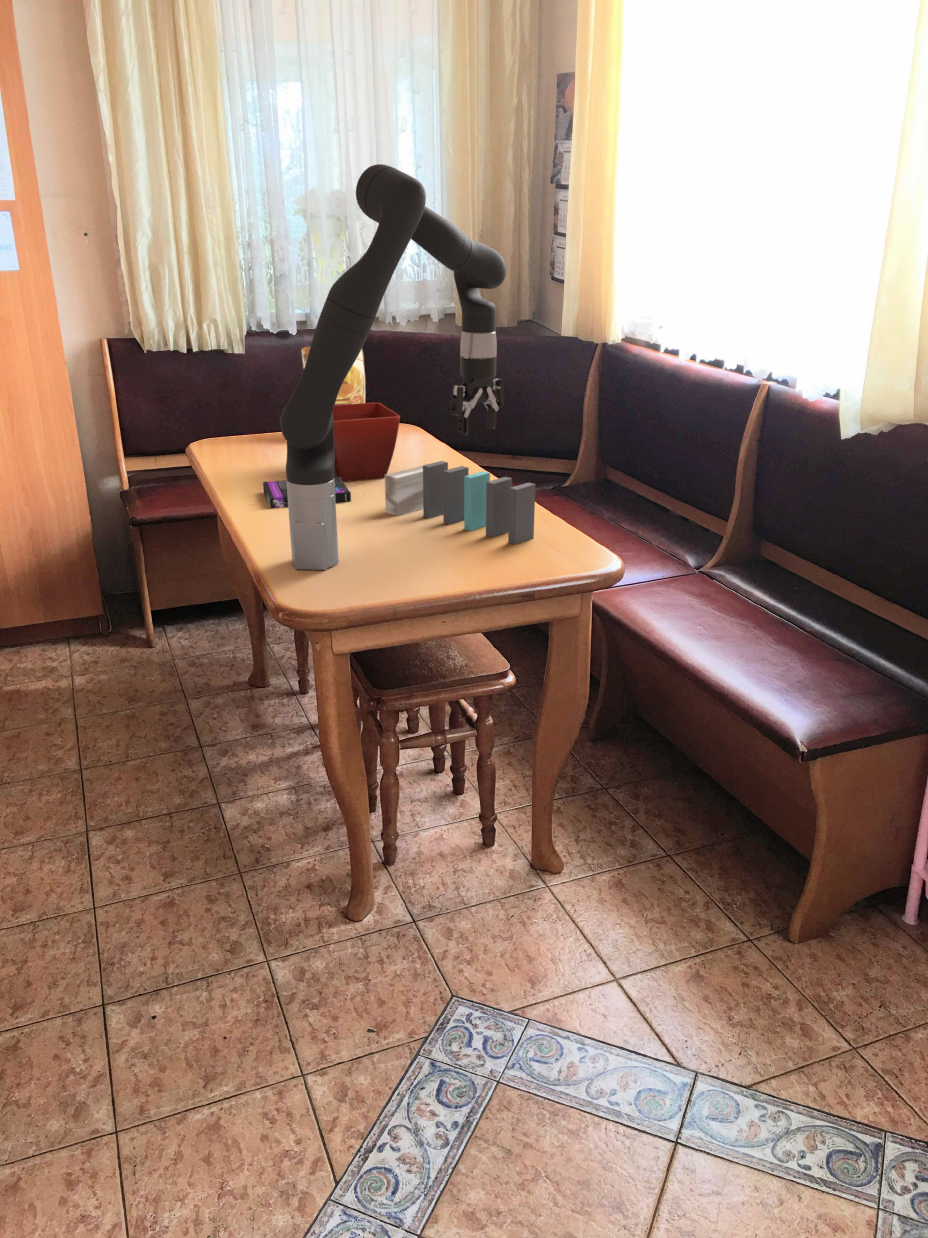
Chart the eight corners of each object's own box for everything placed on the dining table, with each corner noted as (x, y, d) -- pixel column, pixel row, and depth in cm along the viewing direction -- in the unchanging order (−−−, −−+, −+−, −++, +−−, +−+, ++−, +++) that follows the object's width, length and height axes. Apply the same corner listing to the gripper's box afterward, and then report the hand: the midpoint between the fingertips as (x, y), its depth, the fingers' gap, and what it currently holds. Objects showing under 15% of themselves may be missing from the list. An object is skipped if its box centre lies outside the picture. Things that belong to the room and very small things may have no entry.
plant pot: (402, 480, 251) (401, 415, 244) (330, 487, 244) (327, 421, 238) (380, 462, 267) (379, 401, 260) (313, 469, 261) (309, 406, 254)
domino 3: (464, 529, 214) (464, 476, 209) (482, 523, 218) (483, 471, 213) (470, 531, 213) (471, 477, 208) (489, 525, 217) (489, 472, 212)
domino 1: (447, 512, 225) (447, 462, 220) (429, 518, 221) (429, 467, 216) (441, 511, 226) (441, 460, 222) (423, 516, 222) (422, 465, 218)
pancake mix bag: (304, 441, 290) (298, 345, 279) (365, 436, 296) (362, 342, 285) (309, 446, 284) (303, 348, 273) (371, 441, 291) (368, 345, 279)
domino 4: (510, 531, 213) (512, 478, 208) (492, 537, 209) (493, 483, 204) (504, 529, 214) (505, 476, 209) (485, 535, 210) (486, 481, 205)
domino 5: (533, 538, 209) (535, 484, 204) (515, 544, 205) (516, 489, 200) (526, 536, 210) (528, 482, 205) (508, 542, 206) (509, 487, 201)
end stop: (440, 503, 232) (440, 466, 228) (397, 516, 223) (396, 477, 219) (428, 500, 234) (428, 463, 231) (385, 512, 225) (384, 474, 222)
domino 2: (468, 518, 221) (468, 467, 216) (449, 524, 217) (449, 472, 212) (461, 516, 222) (462, 465, 218) (443, 522, 218) (443, 470, 214)
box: (270, 512, 228) (351, 504, 233) (268, 497, 227) (351, 490, 232) (263, 495, 240) (341, 487, 245) (262, 481, 239) (340, 474, 244)
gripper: (488, 348, 208) (486, 423, 214) (441, 355, 198) (441, 433, 205) (514, 352, 203) (512, 429, 210) (468, 359, 194) (467, 439, 200)
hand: (477, 431), depth 207 cm, fingers open, 8 cm apart
